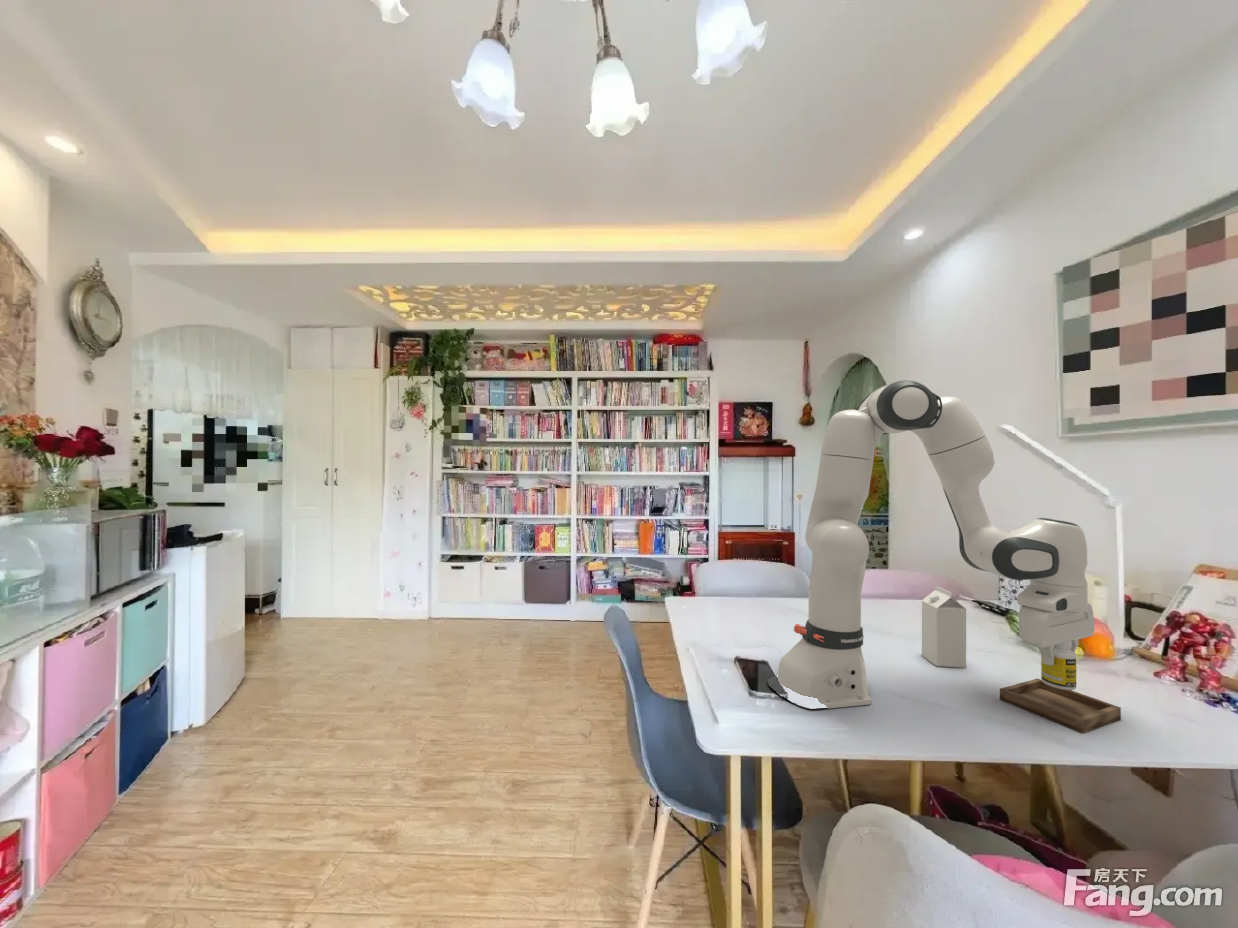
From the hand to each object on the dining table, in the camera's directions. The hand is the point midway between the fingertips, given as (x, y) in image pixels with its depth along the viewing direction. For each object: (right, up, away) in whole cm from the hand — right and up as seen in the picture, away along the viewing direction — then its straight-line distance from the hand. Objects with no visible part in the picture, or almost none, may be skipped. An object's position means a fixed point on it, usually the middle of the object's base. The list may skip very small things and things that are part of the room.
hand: (1058, 661), depth 99 cm
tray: (0, -10, 0) cm, 10 cm away
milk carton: (-8, -10, +24) cm, 27 cm away
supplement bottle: (0, -5, 0) cm, 5 cm away
